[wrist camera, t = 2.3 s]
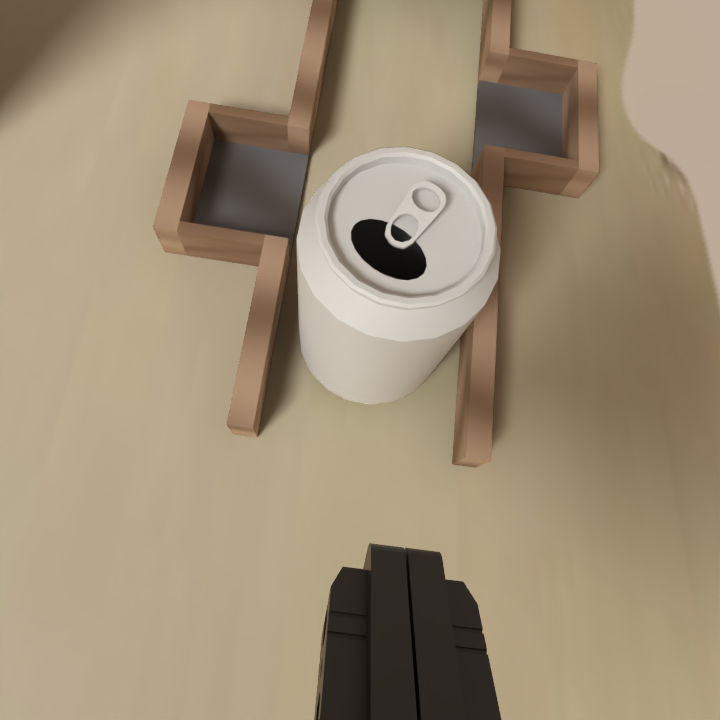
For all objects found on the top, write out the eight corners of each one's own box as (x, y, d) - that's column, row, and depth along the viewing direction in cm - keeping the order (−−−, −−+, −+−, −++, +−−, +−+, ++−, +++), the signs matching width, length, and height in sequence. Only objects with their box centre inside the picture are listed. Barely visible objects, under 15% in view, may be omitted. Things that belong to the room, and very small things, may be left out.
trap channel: (580, 481, 28) (650, 468, 22) (120, 418, 27) (70, 386, 21) (576, -11, 39) (622, -103, 34) (251, -72, 38) (242, -178, 32)
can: (270, 351, 29) (247, 230, 17) (354, 254, 31) (383, 91, 20) (384, 437, 28) (438, 369, 17) (462, 330, 30) (557, 207, 19)
